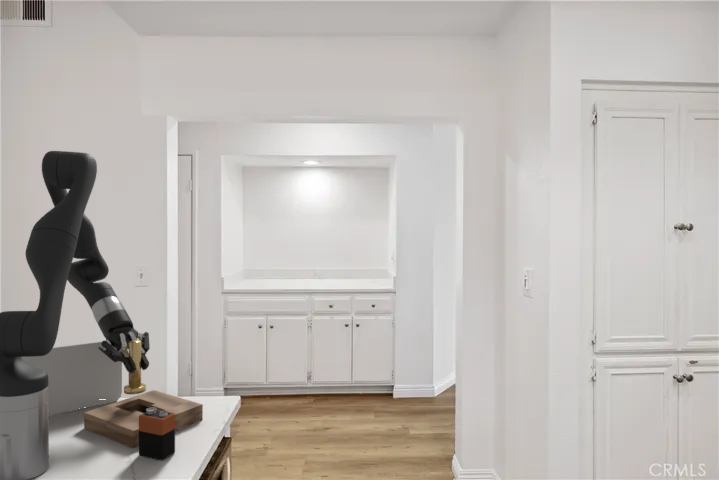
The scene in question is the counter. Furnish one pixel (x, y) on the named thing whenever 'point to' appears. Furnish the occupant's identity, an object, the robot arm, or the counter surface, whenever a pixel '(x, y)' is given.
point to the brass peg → (135, 378)
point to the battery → (156, 434)
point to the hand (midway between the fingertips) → (140, 369)
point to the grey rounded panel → (79, 375)
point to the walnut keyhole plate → (124, 415)
